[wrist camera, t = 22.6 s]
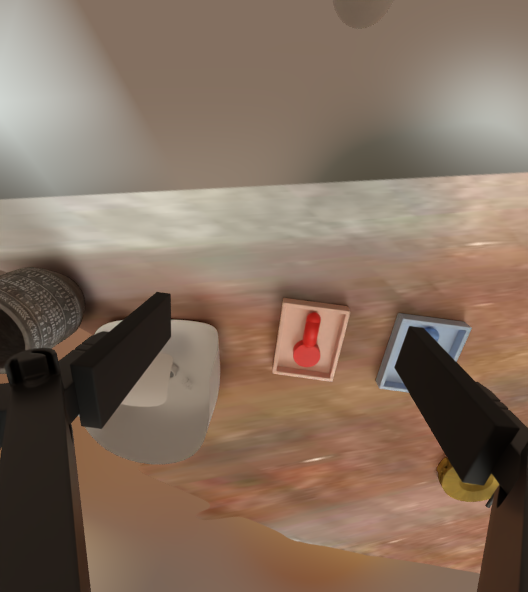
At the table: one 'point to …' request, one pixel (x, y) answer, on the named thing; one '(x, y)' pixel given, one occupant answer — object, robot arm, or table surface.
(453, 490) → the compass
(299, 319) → the rose tray
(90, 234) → the table surface
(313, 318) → the red spoon
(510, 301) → the table surface
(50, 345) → the planter
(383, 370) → the blue tray
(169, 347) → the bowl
